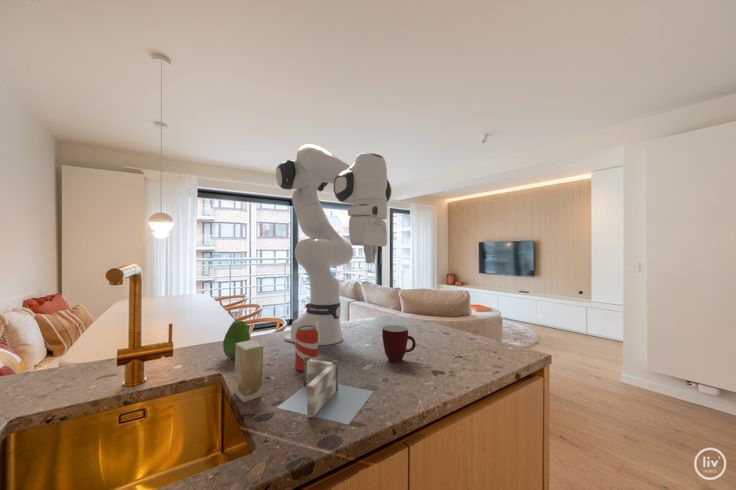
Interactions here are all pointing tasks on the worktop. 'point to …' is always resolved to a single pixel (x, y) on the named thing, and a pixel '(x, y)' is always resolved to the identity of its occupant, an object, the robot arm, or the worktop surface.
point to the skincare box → (248, 370)
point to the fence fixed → (316, 369)
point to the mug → (396, 342)
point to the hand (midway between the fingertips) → (370, 262)
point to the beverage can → (306, 345)
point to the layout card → (331, 404)
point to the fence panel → (321, 390)
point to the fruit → (235, 337)
